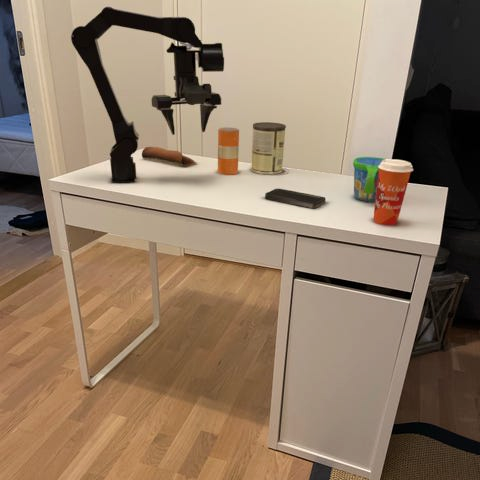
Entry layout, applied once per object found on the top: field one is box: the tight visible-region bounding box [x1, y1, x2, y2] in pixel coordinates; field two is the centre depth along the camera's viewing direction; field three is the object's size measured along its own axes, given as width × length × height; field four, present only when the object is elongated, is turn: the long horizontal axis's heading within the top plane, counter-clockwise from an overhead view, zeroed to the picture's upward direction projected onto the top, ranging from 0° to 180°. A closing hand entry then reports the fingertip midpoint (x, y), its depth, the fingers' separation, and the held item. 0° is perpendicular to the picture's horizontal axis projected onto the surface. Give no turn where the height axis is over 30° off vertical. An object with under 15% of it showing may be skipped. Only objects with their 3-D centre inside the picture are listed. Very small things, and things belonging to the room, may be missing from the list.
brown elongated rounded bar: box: [141, 146, 197, 168], centre depth 164 cm, size 18×7×7 cm, turn 56°
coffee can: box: [250, 121, 287, 175], centre depth 155 cm, size 10×10×14 cm
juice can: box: [217, 126, 240, 176], centre depth 151 cm, size 6×6×13 cm
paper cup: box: [372, 158, 414, 226], centre depth 114 cm, size 8×8×14 cm
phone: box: [264, 188, 326, 209], centre depth 130 cm, size 8×1×15 cm
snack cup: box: [352, 156, 387, 203], centre depth 132 cm, size 16×10×10 cm
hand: (188, 133), depth 139 cm, fingers open, 9 cm apart
